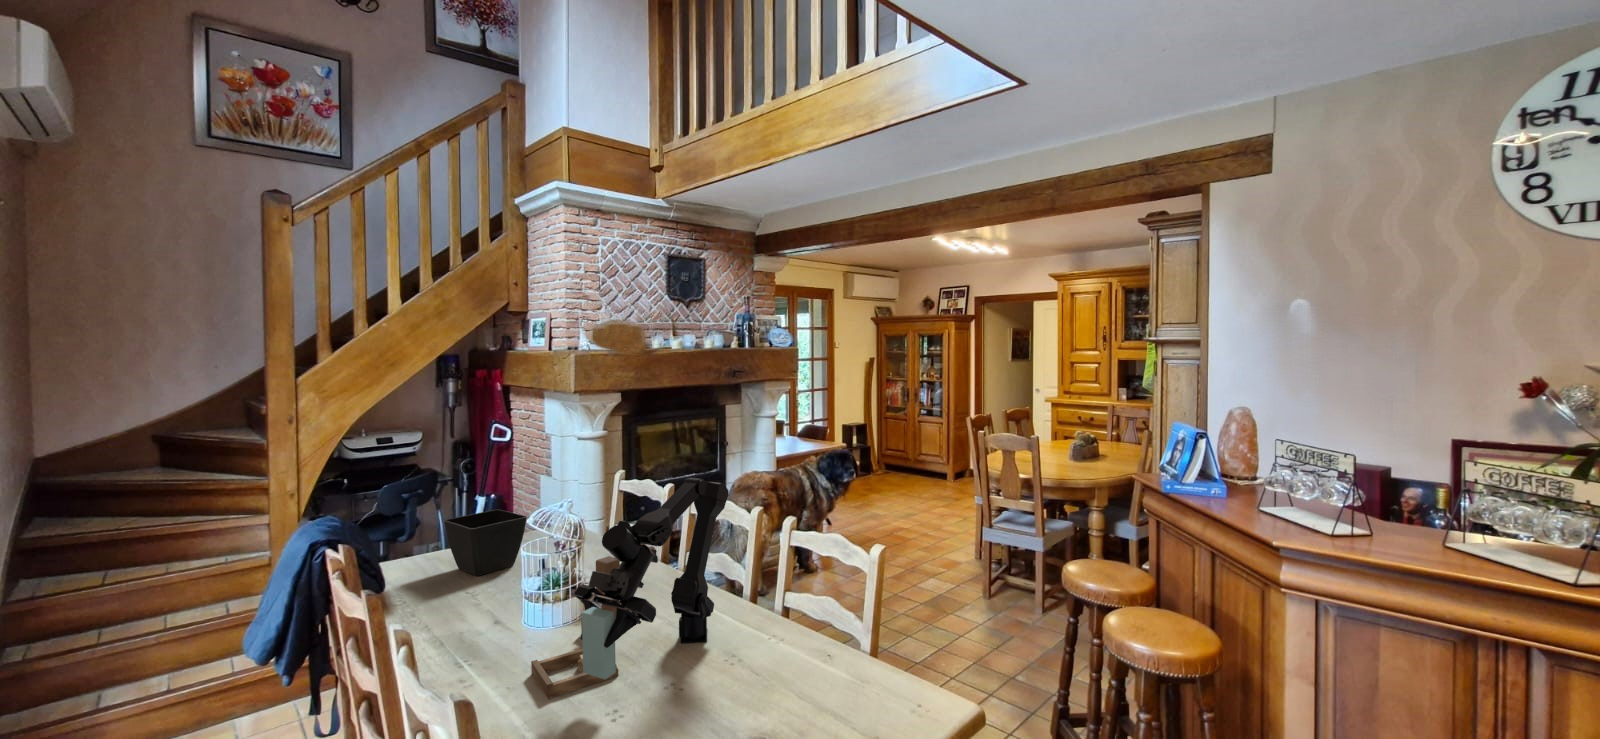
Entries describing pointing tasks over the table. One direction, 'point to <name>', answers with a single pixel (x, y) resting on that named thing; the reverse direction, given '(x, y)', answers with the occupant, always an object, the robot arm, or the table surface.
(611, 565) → the wooden block
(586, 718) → the table surface
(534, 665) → the rack
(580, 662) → the offcut stack
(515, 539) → the flower pot
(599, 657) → the tall grey-green pillar
